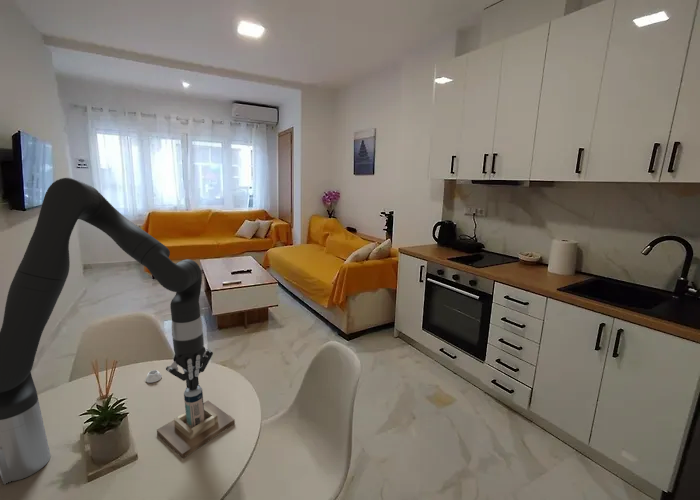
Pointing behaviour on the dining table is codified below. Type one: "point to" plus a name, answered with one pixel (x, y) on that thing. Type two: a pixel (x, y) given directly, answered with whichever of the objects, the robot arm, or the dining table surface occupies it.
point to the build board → (195, 430)
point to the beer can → (194, 406)
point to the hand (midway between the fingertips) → (193, 388)
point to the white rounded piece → (153, 376)
